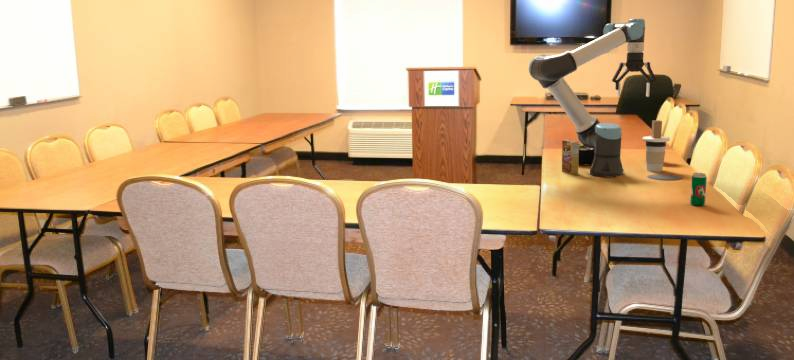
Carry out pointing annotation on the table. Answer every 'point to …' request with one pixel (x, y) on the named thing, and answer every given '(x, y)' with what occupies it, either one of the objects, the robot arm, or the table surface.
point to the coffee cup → (655, 156)
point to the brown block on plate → (656, 133)
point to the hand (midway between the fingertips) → (633, 96)
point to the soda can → (698, 189)
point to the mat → (665, 177)
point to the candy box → (570, 156)
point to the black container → (586, 155)
